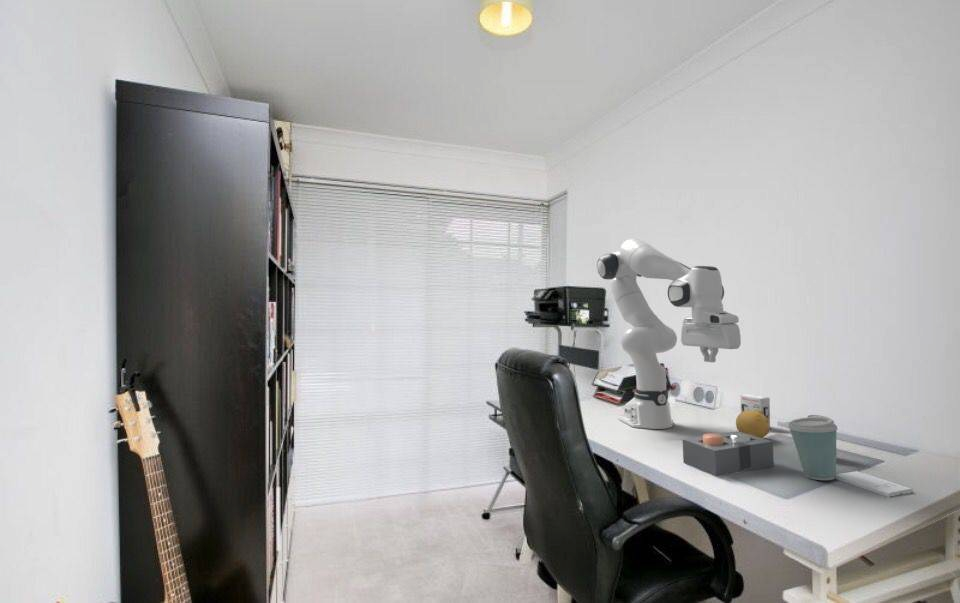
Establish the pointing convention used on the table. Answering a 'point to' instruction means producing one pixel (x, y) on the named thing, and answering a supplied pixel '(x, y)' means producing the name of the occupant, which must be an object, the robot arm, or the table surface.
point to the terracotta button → (713, 439)
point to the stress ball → (752, 423)
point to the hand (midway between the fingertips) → (709, 361)
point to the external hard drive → (873, 483)
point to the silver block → (740, 437)
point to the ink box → (756, 404)
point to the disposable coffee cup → (816, 446)
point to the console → (728, 455)
